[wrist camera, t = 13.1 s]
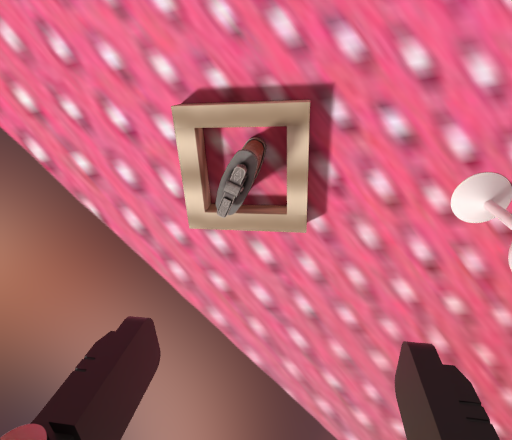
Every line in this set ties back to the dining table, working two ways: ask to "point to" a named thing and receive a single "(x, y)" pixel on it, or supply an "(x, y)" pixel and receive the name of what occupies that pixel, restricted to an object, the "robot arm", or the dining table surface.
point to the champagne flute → (484, 200)
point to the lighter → (240, 177)
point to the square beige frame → (243, 115)
